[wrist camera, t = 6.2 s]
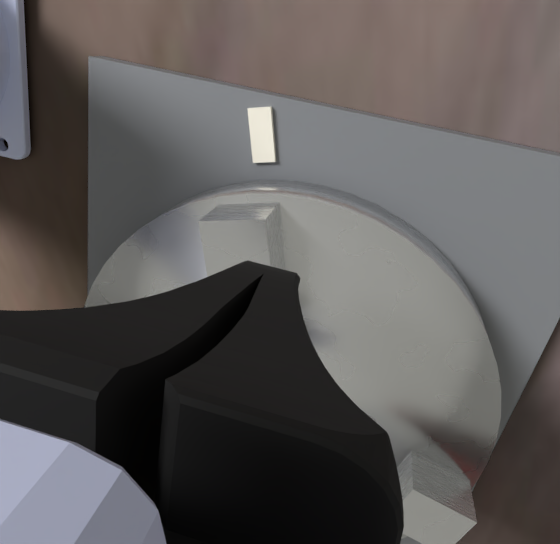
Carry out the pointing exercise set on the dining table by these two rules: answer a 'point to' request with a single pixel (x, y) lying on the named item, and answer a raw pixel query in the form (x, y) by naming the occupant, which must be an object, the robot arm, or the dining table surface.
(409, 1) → the dining table surface
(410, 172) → the slate base plate
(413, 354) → the round dial
